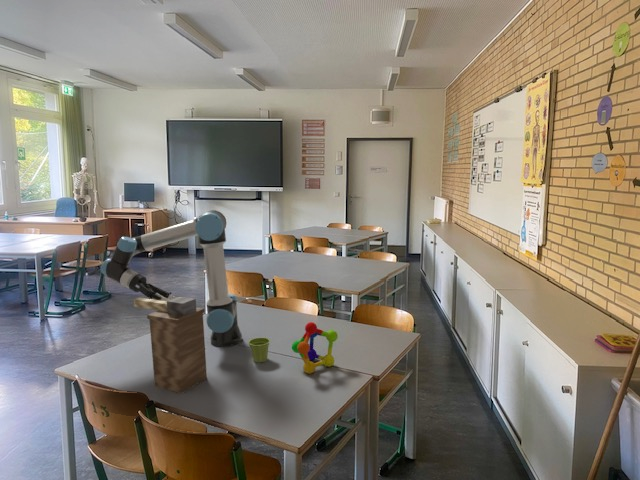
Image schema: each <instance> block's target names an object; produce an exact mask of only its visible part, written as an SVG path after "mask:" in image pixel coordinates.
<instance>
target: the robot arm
mask: <svg viewBox="0 0 640 480" xmlns="http://www.w3.org/2000/svg"><path fill="white" fill-rule="evenodd" d="M226 228H227V219H226V216H225V215H224V213H222V212H221V211H219V210H216V209H215V210H213V209H212V210H209V211H206V212H203V213H202V214H199V215H198V216H195V217H194V218H193V219H192V220H188V221H185V222H182V223H178V224H175V225H171V226H168V227H165V228H162V229H161V228H160V229H158V230H155V231H151V232H148V233H145V234H141V235H137V236H132V237H129V236H121V237H120V238H119V240H118V241H117V243H116V247H115V249H114V252H113V255H112V257H111V258H107V259H105V260H104V261H103V263H102V264H101V265H100V272H101V273H102V274H103V275H104V276H106V277H107V278H108V279H111V280H113V281H114V282H117V283H118V284H119V285H122V287H123V288H127V289H129V290H130V291H132V292H134V293H139V292H140V293H141V294H143V295H144V296H145V297H146V298H148V299H153V300H160V301H169V300H172V299H175V298H177V297H176V296H174V295H172V292H170V291H169V292H168V291H166V290H164V289H161V288H159V287H158V286H155V285H153V284H151V283H147V281H148V280H147V277H145V276H144V275H143V274H140V273H138V272H137V271H135V270H133V269H131V268H129V266H130V263H131V260H132V258H133V257H134V256H136V255H138V254H140V253H144V252H146V251H151V250H153V249H156V248H159V247H163V246H166V245H170V244H173V243H177V242H180V241H183V240H188V239H191V238H194V237H197V236H198V244H199V246H201V247H202V248H203V256H204V257H203V258H204V265H205V274H206V280H207V282H206V283H207V289H208V290H207V291H208V300H207V301H206V311H207V313H206V314H207V316H206V324H207V327H208V329H209V330H210V331H211V334H210V345H213V346H215V347H229V346H234V345H237V344H239V343H241V342H242V341H243V335H242V332H241V329H240V327H239V325H238V324H239V323H238V307H237V306H238V305H237V302H238V300H237V296H236V295H235V294H231V293H230V294H229V287H228V279H227V269H226V260H225V259H226V258H225V252H224V251H225V250H224V244H225V243H226V242H227V237H226Z"/></svg>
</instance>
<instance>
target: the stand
mask: <svg viewBox="0 0 640 480" xmlns="http://www.w3.org/2000/svg"><path fill="white" fill-rule="evenodd" d="M203 313H205V308H203V307H197V306H196V312H193V313H191V314H189V315H186V316H184V317H183V316H177V315H171V314H168V312H165V311H159V310H155V311H154V312H151V313H149V314H147V316H146V317H147V319H148V320H149V329H150V341H151V354H152V355H151V356H152V366H153V367H152V368H153V379H154V380H153V381H154V387H156V388H160V389H164V390H168V391H173V392H176V393H178V394H179V393H180V394H183V392H184V393H185V392H187V391H188V390H190V389H192V388H193V387H195V386H196V385H198V384H200V383H201V382H203V381H204V380H206V379H207V378H208V377H207V376H208V375H207V373H208V372H207V361H206V359H207V358H206V347H205V346H206V345H205V343H206V341H205V329H204V328H205V327H204V314H203ZM199 382H200V383H199ZM197 383H198V384H197ZM194 385H195V386H194ZM192 386H193V387H192ZM191 387H192V388H191ZM189 388H190V389H189ZM186 390H187V391H186Z"/></svg>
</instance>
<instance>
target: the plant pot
mask: <svg viewBox="0 0 640 480" xmlns="http://www.w3.org/2000/svg"><path fill="white" fill-rule="evenodd" d="M270 343H271V340H270V339H269V338H267V337H255V338H252V339H249V340H248V345H249V347H250V350H251V354H252V355H251V356H252V361H253V362H255V363H262V362H263V363H264V362H267V360H268V357H269V355H268V354H269V345H270Z"/></svg>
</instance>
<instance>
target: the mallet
mask: <svg viewBox="0 0 640 480" xmlns="http://www.w3.org/2000/svg"><path fill="white" fill-rule="evenodd" d="M133 307H134V308H135V307H136V308H139V309H140V308H141V309H146V310H147V309H149V310H154V311H165V312H168V314H171V315H177V316H183V317H184V316H186V315H189V314H191V313H193V312H196V307H197V299H196V298H191V297H186V296H179V297H176V298H175V299H172V300H169V301H160V300H154V299H153V298H152V299H149V298H148V297H135V298H133Z"/></svg>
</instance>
